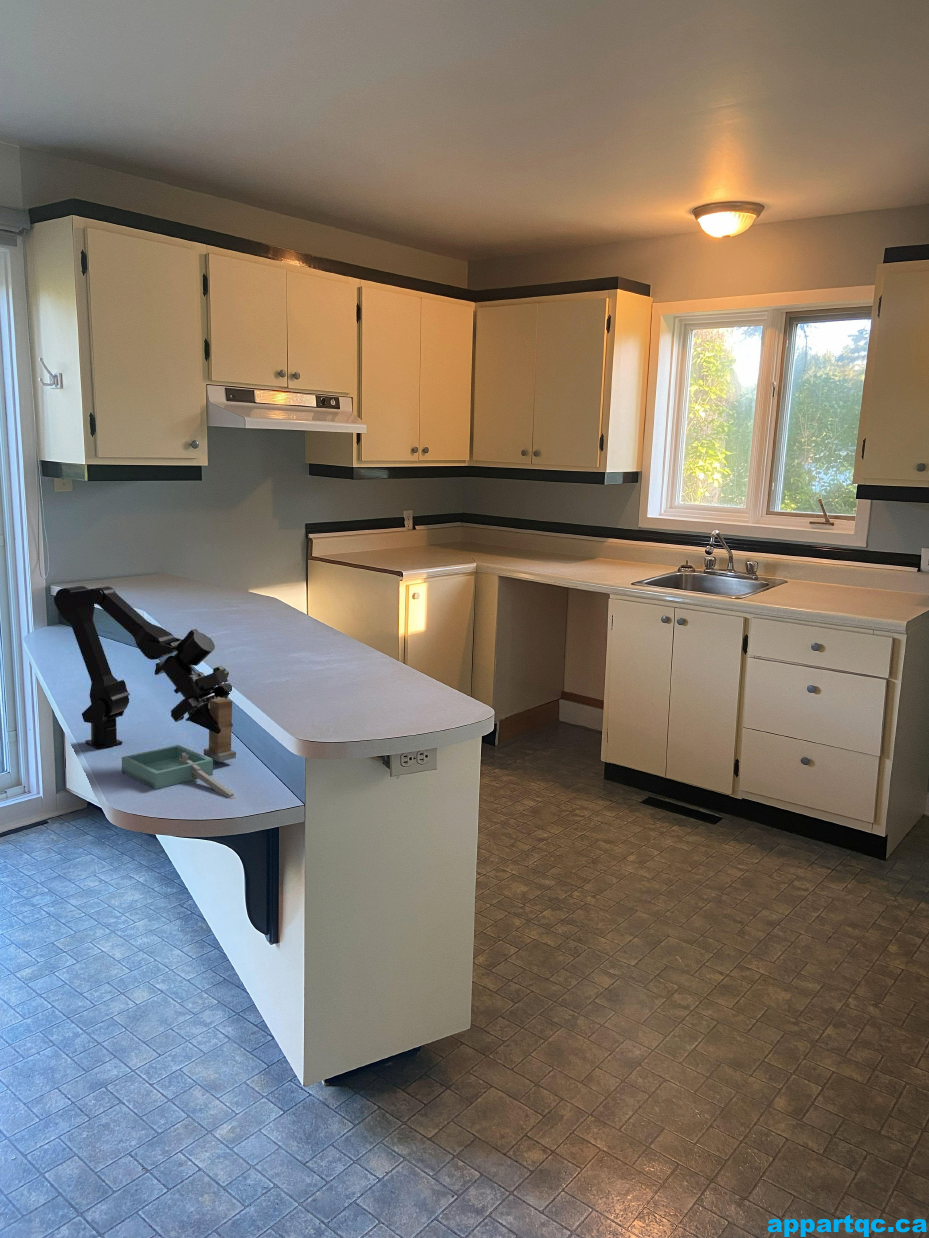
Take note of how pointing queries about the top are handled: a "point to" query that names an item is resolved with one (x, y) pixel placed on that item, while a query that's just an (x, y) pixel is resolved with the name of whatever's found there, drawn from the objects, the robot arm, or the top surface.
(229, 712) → the tall tan wooden block
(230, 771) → the top surface
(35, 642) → the top surface
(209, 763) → the tray
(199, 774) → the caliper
